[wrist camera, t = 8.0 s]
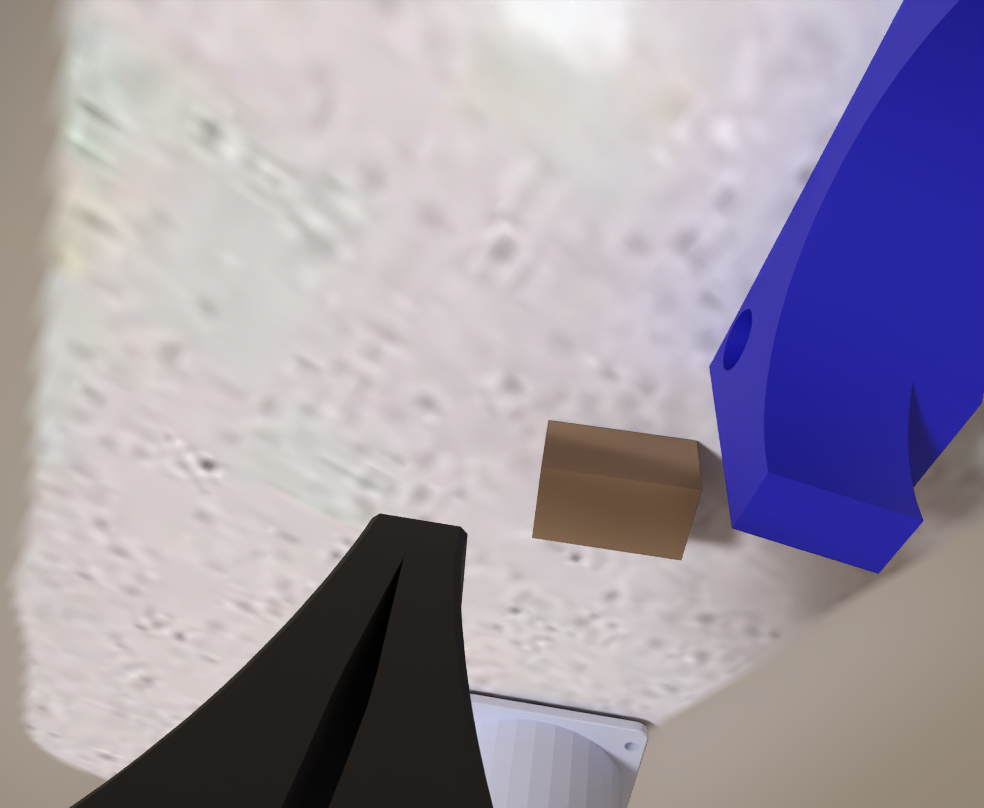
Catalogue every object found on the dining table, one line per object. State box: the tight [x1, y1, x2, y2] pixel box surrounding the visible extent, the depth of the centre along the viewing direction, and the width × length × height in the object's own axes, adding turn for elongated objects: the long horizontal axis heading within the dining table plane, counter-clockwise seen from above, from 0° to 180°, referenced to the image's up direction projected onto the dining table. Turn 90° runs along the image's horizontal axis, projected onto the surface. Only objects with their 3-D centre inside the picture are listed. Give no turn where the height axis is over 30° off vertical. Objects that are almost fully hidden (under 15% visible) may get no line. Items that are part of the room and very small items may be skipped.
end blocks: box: [532, 420, 702, 560], centre depth 17 cm, size 19×4×2 cm, turn 176°
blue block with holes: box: [709, 0, 984, 574], centre depth 14 cm, size 12×4×6 cm, turn 165°
